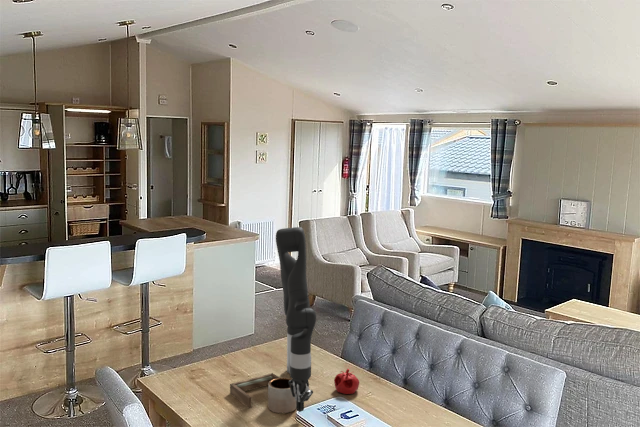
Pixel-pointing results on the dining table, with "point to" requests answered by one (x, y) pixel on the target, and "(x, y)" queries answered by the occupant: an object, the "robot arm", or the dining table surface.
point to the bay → (249, 387)
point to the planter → (280, 396)
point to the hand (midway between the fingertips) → (300, 410)
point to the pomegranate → (346, 382)
